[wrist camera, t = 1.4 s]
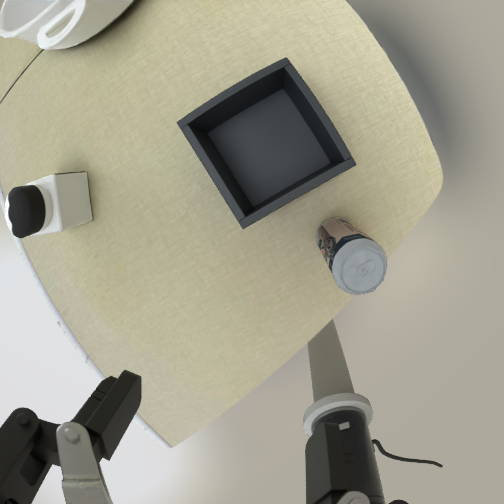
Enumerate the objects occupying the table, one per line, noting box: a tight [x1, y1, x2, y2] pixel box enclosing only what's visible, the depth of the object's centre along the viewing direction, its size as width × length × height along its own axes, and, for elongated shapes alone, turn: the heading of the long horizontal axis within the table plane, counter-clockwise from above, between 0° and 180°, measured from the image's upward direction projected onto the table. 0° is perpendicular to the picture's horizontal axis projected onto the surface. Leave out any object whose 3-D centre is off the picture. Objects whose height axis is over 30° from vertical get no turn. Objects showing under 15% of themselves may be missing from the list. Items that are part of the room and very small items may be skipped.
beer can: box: [316, 217, 387, 295], centre depth 26 cm, size 5×5×12 cm
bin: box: [177, 57, 356, 229], centre depth 26 cm, size 12×12×8 cm
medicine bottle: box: [5, 171, 93, 238], centre depth 28 cm, size 7×7×12 cm
